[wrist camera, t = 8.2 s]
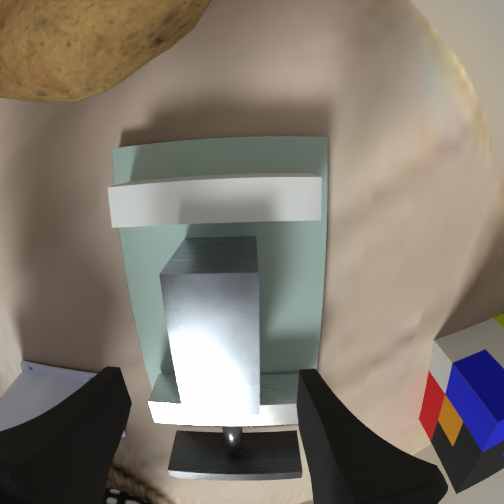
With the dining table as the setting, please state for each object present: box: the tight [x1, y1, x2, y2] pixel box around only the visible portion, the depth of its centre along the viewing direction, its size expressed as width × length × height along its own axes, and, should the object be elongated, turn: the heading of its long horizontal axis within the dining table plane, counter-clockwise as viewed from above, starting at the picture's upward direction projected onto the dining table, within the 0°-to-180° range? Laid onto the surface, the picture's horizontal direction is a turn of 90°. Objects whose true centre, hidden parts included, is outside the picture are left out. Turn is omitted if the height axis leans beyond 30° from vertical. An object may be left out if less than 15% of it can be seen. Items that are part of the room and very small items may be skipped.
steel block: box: [159, 236, 260, 415], centre depth 16 cm, size 4×8×6 cm, turn 1°
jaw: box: [148, 373, 302, 481], centre depth 20 cm, size 10×8×4 cm
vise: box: [108, 136, 328, 390], centre depth 18 cm, size 12×18×4 cm, turn 2°
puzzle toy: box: [419, 313, 504, 494], centre depth 18 cm, size 10×10×10 cm
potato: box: [0, 0, 211, 102], centre depth 11 cm, size 10×14×8 cm
